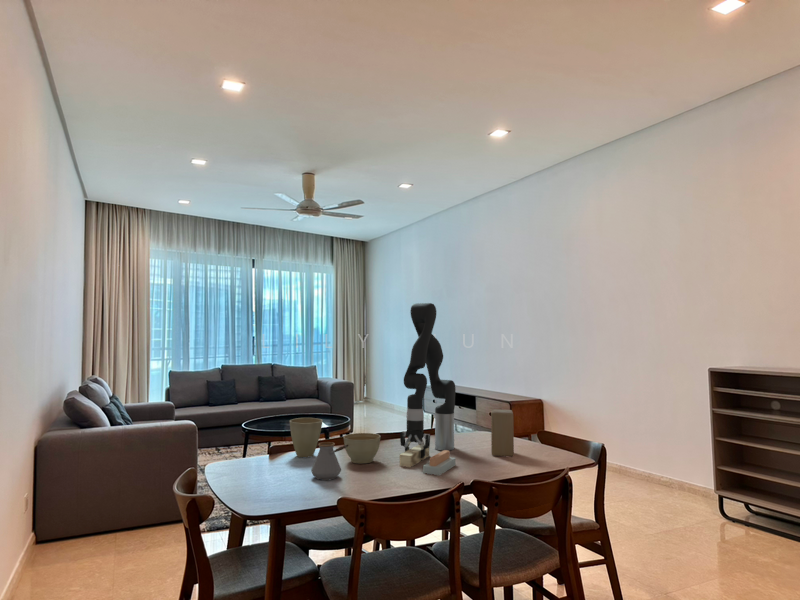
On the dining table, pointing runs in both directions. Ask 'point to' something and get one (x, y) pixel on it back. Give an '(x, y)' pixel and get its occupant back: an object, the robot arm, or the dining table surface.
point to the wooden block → (502, 433)
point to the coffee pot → (327, 462)
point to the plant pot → (305, 435)
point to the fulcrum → (439, 463)
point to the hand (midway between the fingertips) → (414, 456)
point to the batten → (412, 456)
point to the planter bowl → (362, 446)
